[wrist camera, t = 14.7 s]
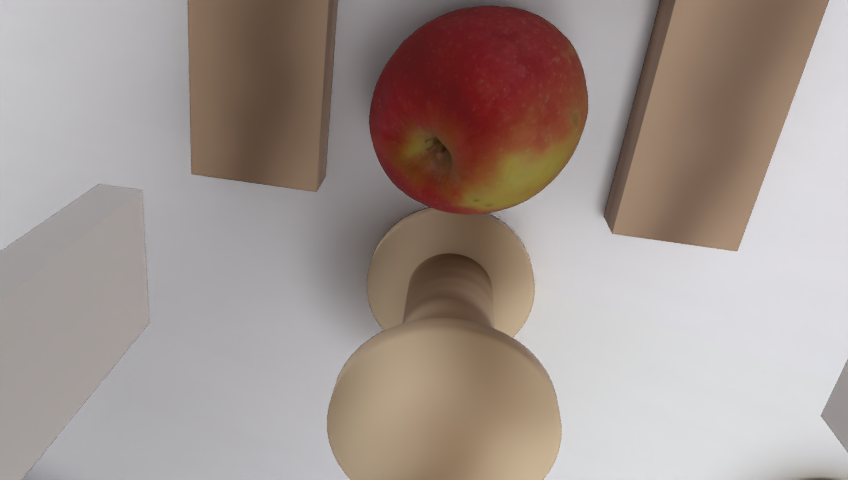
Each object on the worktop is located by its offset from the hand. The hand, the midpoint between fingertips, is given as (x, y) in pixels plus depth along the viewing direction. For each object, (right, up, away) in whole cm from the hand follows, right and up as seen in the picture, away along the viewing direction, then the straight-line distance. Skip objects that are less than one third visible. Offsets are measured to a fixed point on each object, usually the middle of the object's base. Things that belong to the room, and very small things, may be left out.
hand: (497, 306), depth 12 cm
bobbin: (0, -1, +21) cm, 21 cm away
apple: (+1, +8, +17) cm, 19 cm away
